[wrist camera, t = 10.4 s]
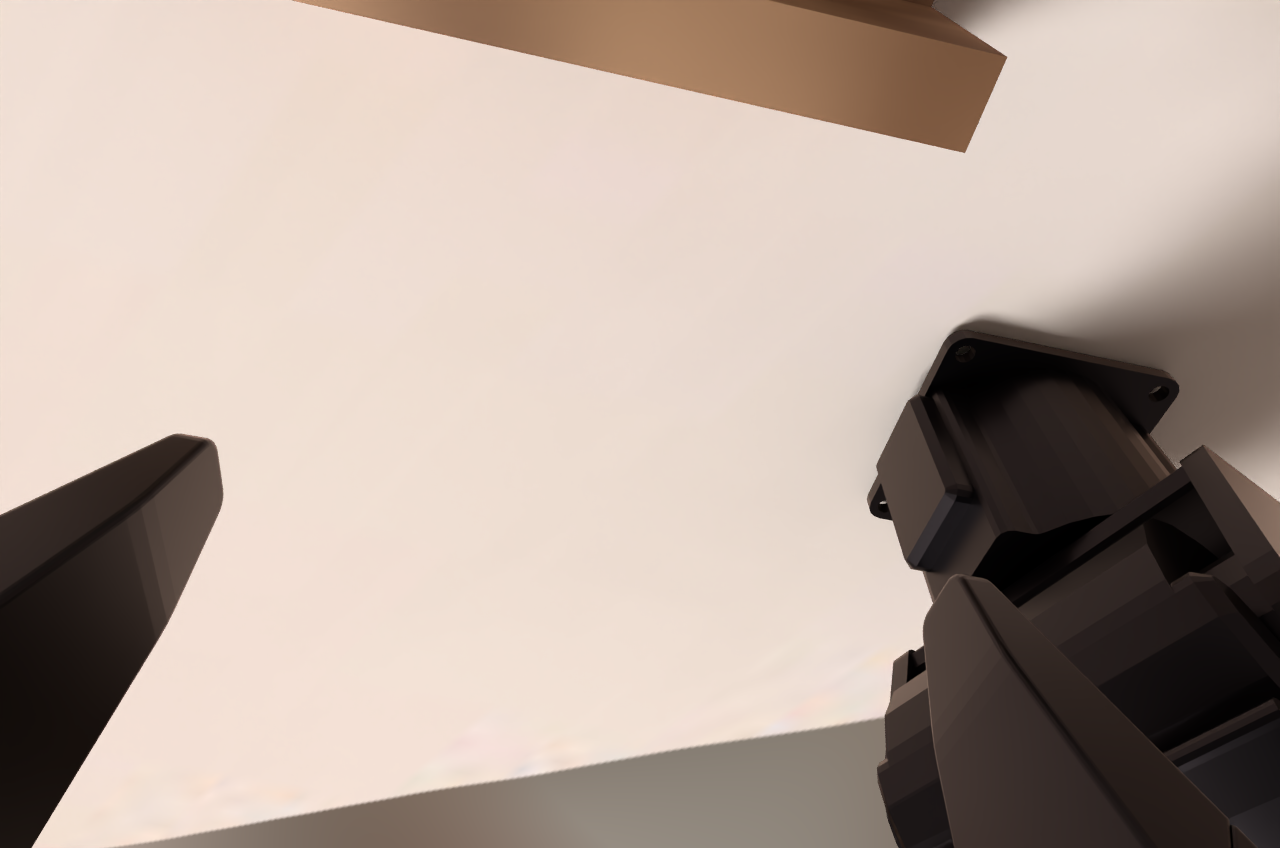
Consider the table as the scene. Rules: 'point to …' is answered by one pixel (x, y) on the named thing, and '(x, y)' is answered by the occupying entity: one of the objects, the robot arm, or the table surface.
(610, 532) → the table surface
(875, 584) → the table surface
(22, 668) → the robot arm
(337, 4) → the cleat rack
